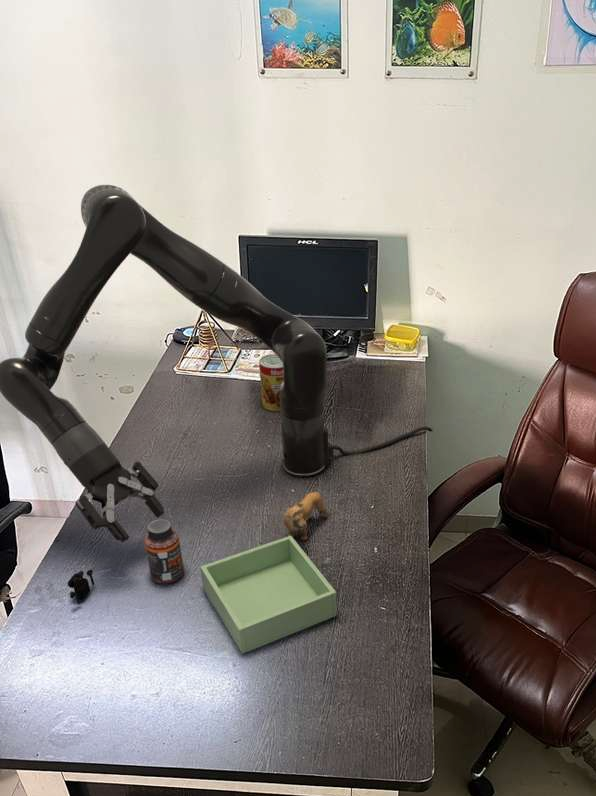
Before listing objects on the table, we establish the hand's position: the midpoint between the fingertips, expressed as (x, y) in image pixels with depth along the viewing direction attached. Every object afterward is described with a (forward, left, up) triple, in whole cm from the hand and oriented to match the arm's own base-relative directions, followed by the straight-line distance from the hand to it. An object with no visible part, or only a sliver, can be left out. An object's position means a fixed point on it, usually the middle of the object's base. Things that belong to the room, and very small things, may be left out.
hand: (144, 527), depth 133 cm
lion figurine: (-30, +5, -9) cm, 32 cm away
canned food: (-47, -45, -9) cm, 66 cm away
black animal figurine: (+13, +2, -9) cm, 16 cm away
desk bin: (-15, +20, -9) cm, 26 cm away
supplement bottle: (-2, +4, -9) cm, 10 cm away
